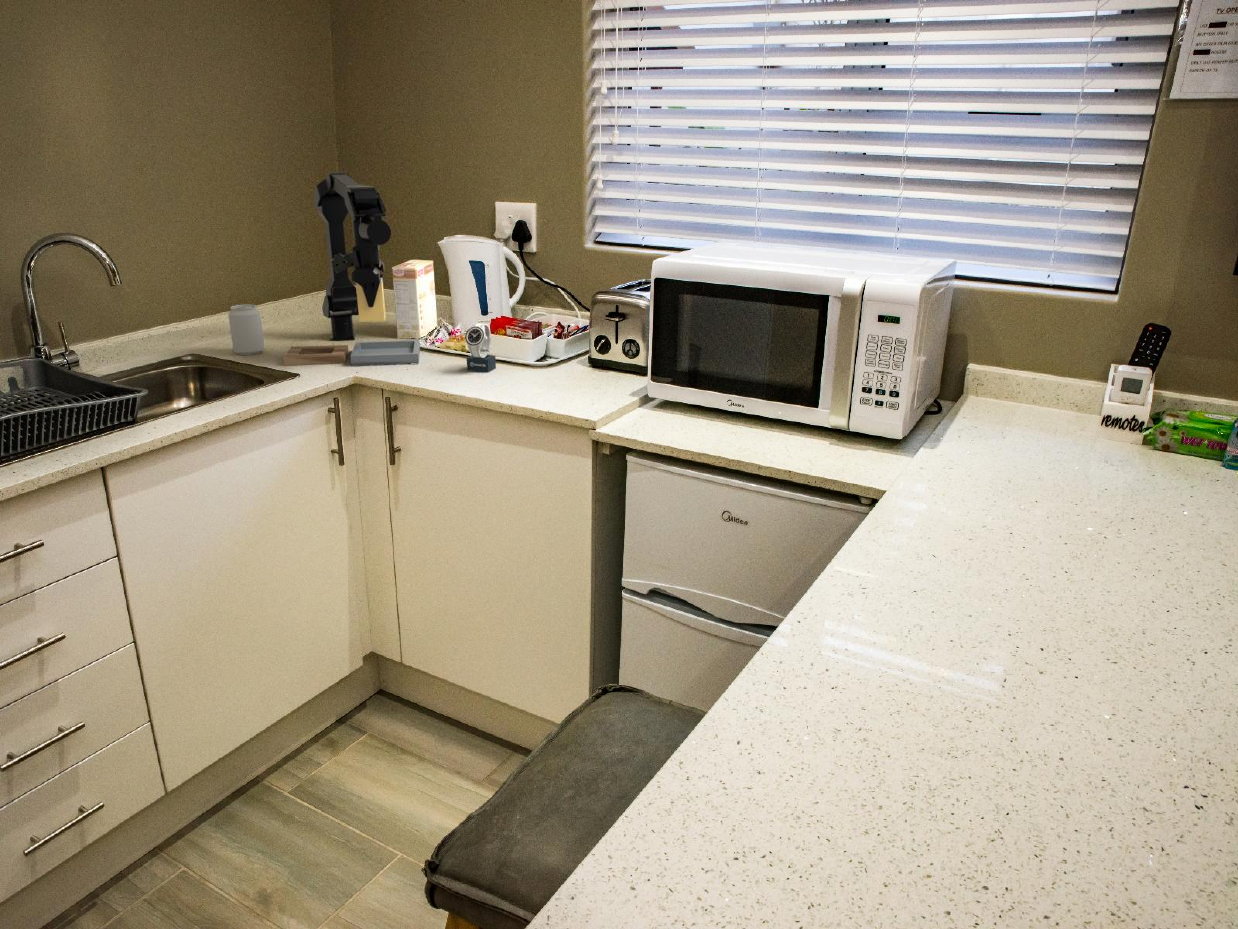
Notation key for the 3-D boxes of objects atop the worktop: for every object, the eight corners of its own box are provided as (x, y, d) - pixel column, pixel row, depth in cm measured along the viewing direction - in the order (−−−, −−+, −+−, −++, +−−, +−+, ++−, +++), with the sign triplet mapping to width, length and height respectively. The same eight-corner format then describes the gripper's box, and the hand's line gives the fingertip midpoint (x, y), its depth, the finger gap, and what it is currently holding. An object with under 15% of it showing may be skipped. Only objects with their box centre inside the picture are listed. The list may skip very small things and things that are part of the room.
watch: (463, 372, 220) (461, 326, 216) (478, 364, 227) (476, 320, 223) (485, 374, 218) (483, 328, 215) (499, 366, 226) (497, 321, 222)
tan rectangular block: (361, 318, 231) (357, 278, 228) (385, 318, 232) (382, 277, 229) (359, 321, 228) (355, 280, 224) (384, 321, 228) (381, 280, 225)
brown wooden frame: (291, 354, 236) (290, 346, 235) (348, 352, 238) (347, 344, 238) (284, 365, 225) (283, 357, 224) (344, 363, 227) (343, 355, 227)
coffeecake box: (414, 327, 268) (410, 259, 262) (438, 328, 267) (434, 259, 261) (396, 338, 254) (390, 266, 248) (421, 339, 253) (416, 267, 247)
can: (232, 350, 240) (226, 304, 236) (263, 348, 243) (257, 302, 239) (234, 356, 233) (228, 309, 229) (266, 354, 236) (260, 307, 232)
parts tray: (356, 351, 240) (356, 341, 239) (420, 349, 242) (419, 339, 242) (351, 366, 225) (350, 356, 224) (418, 363, 228) (417, 353, 227)
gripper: (336, 237, 231) (342, 299, 236) (326, 245, 214) (333, 313, 219) (382, 236, 233) (387, 298, 238) (375, 245, 215) (381, 312, 221)
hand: (371, 305), depth 229 cm, fingers closed on tan rectangular block, 4 cm apart
